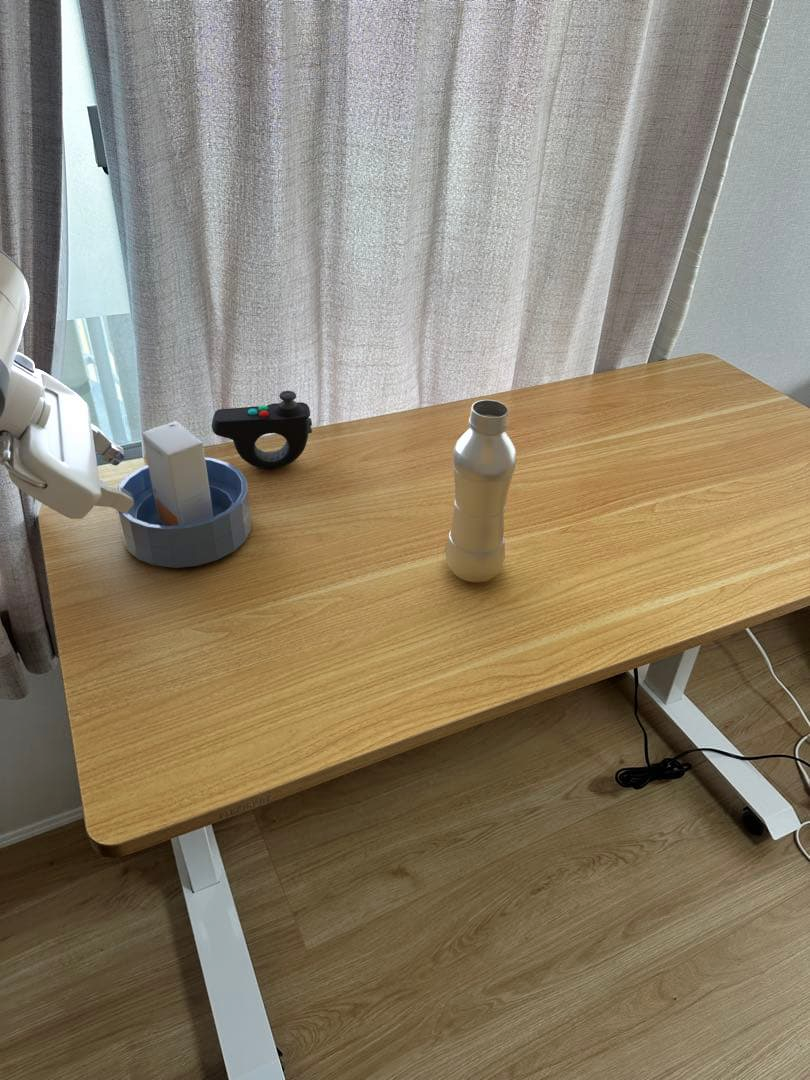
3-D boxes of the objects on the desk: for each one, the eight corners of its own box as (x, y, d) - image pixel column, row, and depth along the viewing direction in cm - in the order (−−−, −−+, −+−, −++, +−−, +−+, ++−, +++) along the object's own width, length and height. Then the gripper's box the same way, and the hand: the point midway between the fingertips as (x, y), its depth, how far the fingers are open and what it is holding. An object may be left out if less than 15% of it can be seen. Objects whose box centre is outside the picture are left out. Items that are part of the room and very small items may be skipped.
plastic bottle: (459, 595, 85) (474, 431, 73) (434, 558, 90) (445, 397, 78) (513, 583, 87) (537, 420, 75) (486, 546, 92) (504, 388, 80)
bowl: (141, 587, 85) (131, 542, 81) (112, 516, 95) (102, 473, 91) (269, 551, 90) (265, 507, 87) (229, 487, 100) (223, 446, 97)
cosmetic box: (157, 522, 93) (139, 431, 85) (190, 508, 95) (176, 419, 88) (183, 547, 89) (167, 455, 82) (217, 533, 91) (204, 441, 84)
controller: (315, 470, 104) (312, 400, 98) (217, 478, 102) (208, 408, 96) (311, 452, 107) (308, 384, 101) (216, 460, 105) (207, 391, 99)
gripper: (19, 439, 68) (156, 513, 77) (18, 344, 83) (133, 414, 92) (-23, 492, 69) (116, 558, 78) (-16, 389, 85) (99, 454, 93)
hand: (125, 480), depth 85 cm, fingers open, 8 cm apart
